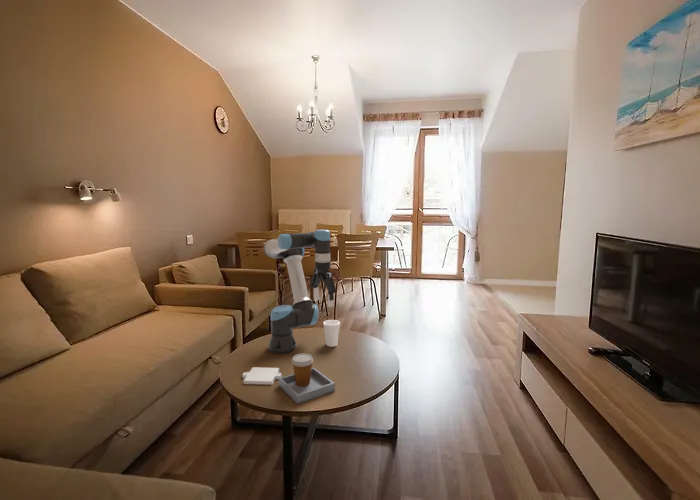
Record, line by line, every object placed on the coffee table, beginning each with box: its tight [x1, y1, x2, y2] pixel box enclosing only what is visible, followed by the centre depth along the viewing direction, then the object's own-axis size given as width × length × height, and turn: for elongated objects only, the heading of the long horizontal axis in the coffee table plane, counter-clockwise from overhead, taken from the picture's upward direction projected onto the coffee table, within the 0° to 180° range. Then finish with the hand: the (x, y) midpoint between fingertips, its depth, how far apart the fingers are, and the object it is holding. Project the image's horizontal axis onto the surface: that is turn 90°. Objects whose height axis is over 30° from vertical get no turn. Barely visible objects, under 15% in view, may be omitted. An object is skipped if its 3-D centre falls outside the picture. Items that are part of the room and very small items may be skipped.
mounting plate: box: [242, 366, 282, 385], centre depth 169 cm, size 18×13×2 cm
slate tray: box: [278, 367, 336, 405], centre depth 159 cm, size 18×18×4 cm
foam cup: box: [322, 319, 341, 348], centre depth 206 cm, size 10×9×13 cm
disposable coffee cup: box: [291, 353, 314, 386], centre depth 161 cm, size 10×10×12 cm
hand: (323, 303), depth 181 cm, fingers open, 13 cm apart
